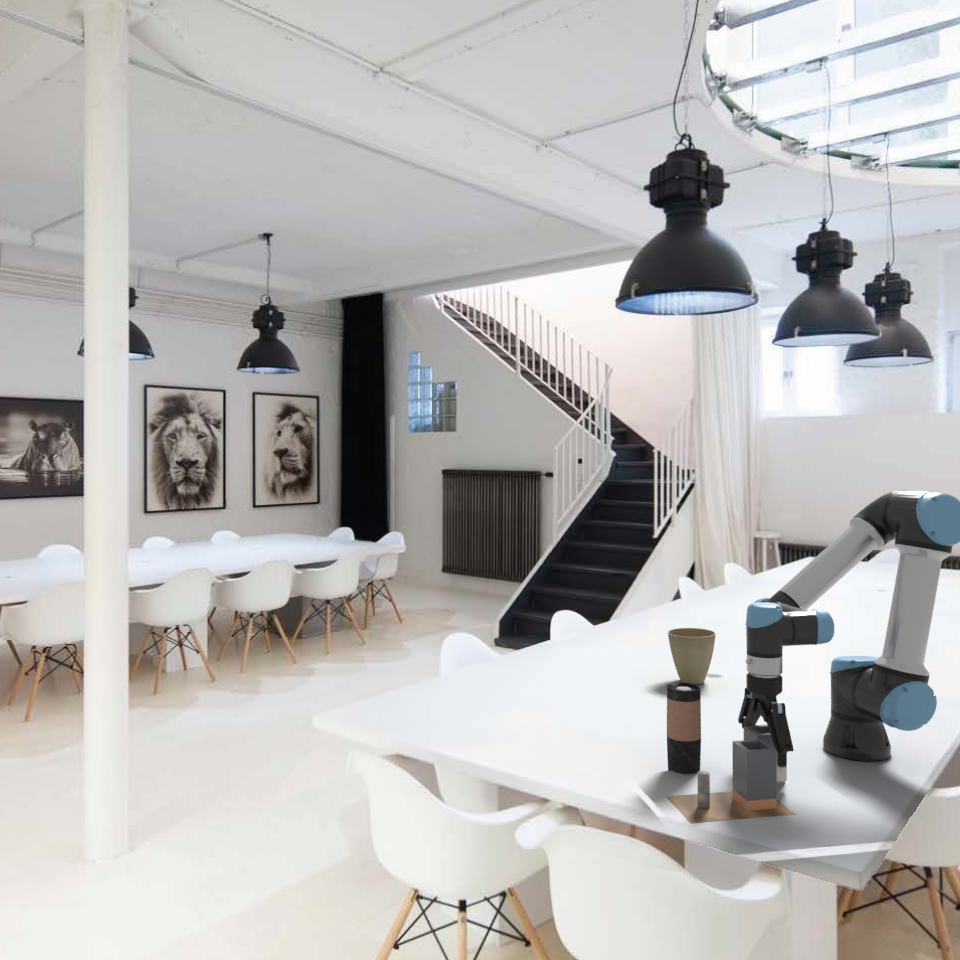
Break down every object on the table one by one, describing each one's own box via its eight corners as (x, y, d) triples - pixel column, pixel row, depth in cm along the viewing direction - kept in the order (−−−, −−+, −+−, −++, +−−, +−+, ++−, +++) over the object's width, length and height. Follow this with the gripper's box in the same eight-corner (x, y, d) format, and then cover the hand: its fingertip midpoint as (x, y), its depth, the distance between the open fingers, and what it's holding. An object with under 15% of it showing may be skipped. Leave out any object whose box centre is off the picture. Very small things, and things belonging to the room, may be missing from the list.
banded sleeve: (770, 777, 190) (770, 724, 190) (785, 788, 184) (785, 733, 184) (744, 779, 189) (744, 726, 189) (757, 790, 183) (757, 735, 183)
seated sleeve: (761, 795, 177) (761, 739, 177) (776, 808, 171) (776, 749, 170) (732, 798, 176) (732, 741, 176) (747, 810, 170) (746, 751, 169)
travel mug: (698, 781, 188) (698, 692, 188) (664, 777, 191) (663, 689, 190) (703, 769, 195) (702, 683, 195) (669, 765, 198) (669, 680, 198)
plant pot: (711, 675, 277) (711, 627, 277) (719, 688, 262) (719, 637, 262) (665, 675, 279) (665, 627, 278) (671, 687, 264) (670, 636, 263)
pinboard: (763, 794, 181) (763, 756, 180) (795, 820, 168) (795, 779, 168) (666, 802, 177) (665, 763, 177) (691, 829, 164) (690, 787, 164)
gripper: (723, 660, 198) (723, 750, 198) (776, 690, 173) (776, 792, 174) (753, 659, 199) (753, 748, 199) (810, 688, 174) (810, 789, 175)
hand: (764, 769), depth 187 cm, fingers open, 13 cm apart
